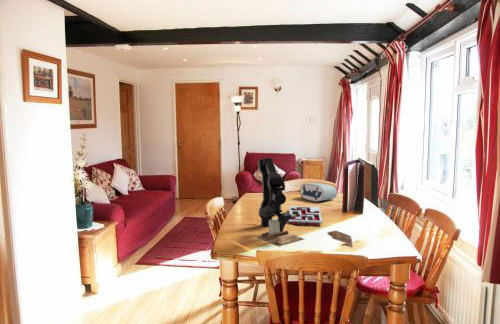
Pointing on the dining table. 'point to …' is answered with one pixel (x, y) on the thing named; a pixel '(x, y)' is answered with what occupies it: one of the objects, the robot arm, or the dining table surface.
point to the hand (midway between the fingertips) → (275, 229)
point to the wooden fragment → (341, 237)
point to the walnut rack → (275, 237)
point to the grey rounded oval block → (317, 191)
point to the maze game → (305, 215)
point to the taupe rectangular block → (274, 226)
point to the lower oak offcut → (287, 241)
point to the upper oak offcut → (286, 237)
